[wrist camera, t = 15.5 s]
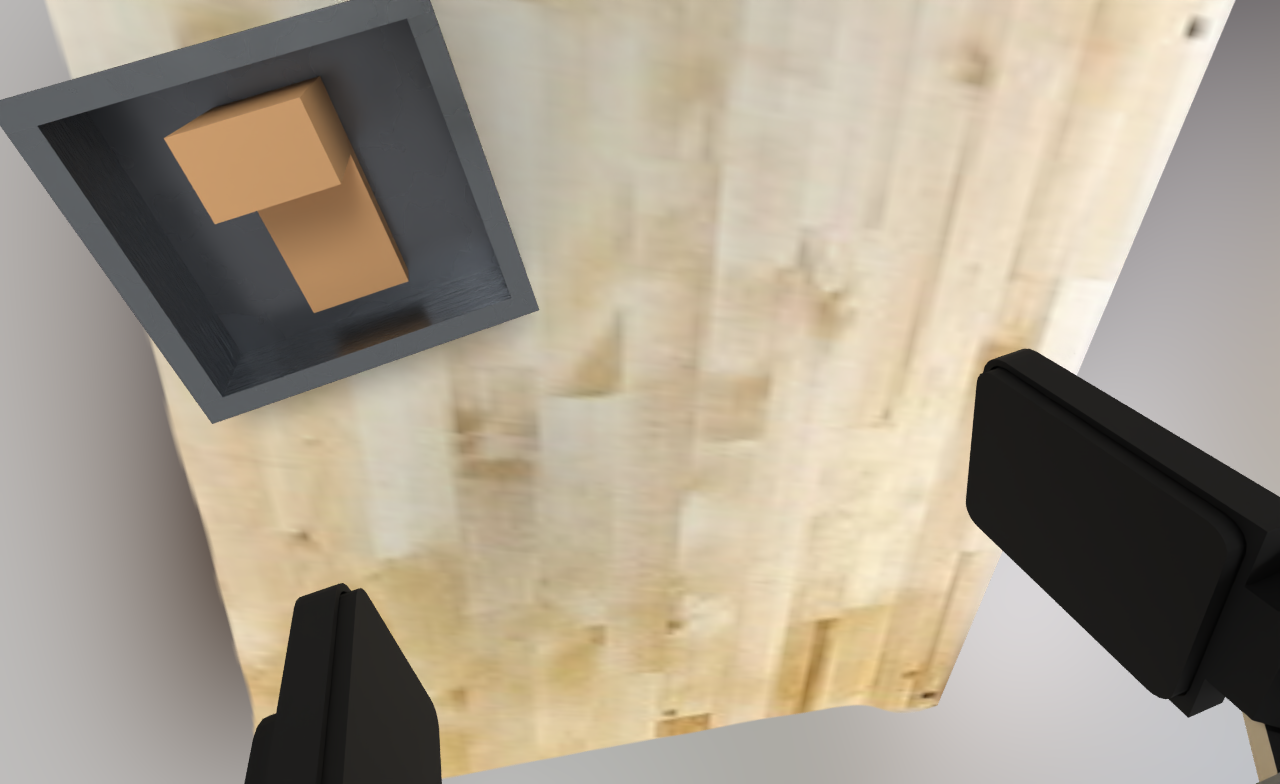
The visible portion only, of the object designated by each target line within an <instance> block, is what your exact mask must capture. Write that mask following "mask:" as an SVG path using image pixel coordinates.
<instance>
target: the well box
mask: <svg viewBox="0 0 1280 784" xmlns="http://www.w3.org/2000/svg"><path fill="white" fill-rule="evenodd" d="M318 76H320V77H321V80H322V82H323V84H324V86H325V88H326V91H327V93H328V95H329V97H330V99H331V101H332V104H333V106H334V108H335V110H336V112H337V115H338V117H339V119H340V121H341V123H342V126H343V128H344V130H345V132H346V134H347V137H348V139H349V141H350V143H351V145H352V148H353V150H354V152H355V154H356V156H357V159H358V161H359V163H360V165H361V167H362V170H363V172H364V174H365V176H366V178H367V181H368V183H369V185H370V187H371V189H372V192H373V194H374V196H375V198H376V200H377V203H378V205H379V207H380V209H381V211H382V214H383V216H384V218H385V220H386V222H387V225H388V227H389V229H390V231H391V233H392V236H393V238H394V240H395V242H396V244H397V247H398V249H399V251H400V253H401V255H402V258H403V260H404V262H405V264H406V266H407V269H408V274H409V281H408V282H405V283H402V284H399V285H396V286H393V287H390V288H387V289H384V290H381V291H378V292H375V293H372V294H370V295H367V296H364V297H361V298H358V299H355V300H352V301H349V302H346V303H343V304H340V305H337V306H334V307H331V308H328V309H325V310H322V311H319V312H316V313H314V312H313V311H312V309H311V307H310V305H309V303H308V302H307V300H306V298H305V296H304V294H303V293H302V291H301V289H300V287H299V285H298V284H297V282H296V280H295V278H294V276H293V275H292V273H291V271H290V269H289V267H288V265H287V264H286V262H285V260H284V258H283V256H282V255H281V253H280V251H279V249H278V247H277V246H276V244H275V242H274V240H273V238H272V237H271V235H270V233H269V231H268V229H267V228H266V226H265V224H264V222H263V220H262V219H261V217H260V215H259V213H258V211H255V212H252V213H249V214H246V215H243V216H240V217H236V218H233V219H230V220H227V221H224V222H221V223H218V224H214V222H213V220H212V219H211V217H210V215H209V214H208V212H207V210H206V208H205V207H204V205H203V203H202V202H201V200H200V198H199V197H198V195H197V193H196V192H195V190H194V188H193V187H192V185H191V183H190V182H189V180H188V178H187V177H186V175H185V173H184V172H183V170H182V168H181V167H180V165H179V163H178V161H177V160H176V158H175V156H174V155H173V153H172V151H171V150H170V148H169V146H168V145H167V143H166V141H165V140H164V138H165V137H167V136H168V135H170V134H171V133H173V132H175V131H176V130H178V129H179V128H181V127H183V126H184V125H186V124H187V123H189V122H191V121H192V120H194V119H196V118H197V117H199V116H200V115H202V114H204V113H205V112H207V111H208V110H210V109H212V108H215V107H218V106H221V105H225V104H228V103H231V102H235V101H238V100H241V99H245V98H248V97H251V96H255V95H258V94H261V93H265V92H268V91H272V90H275V89H278V88H282V87H285V86H288V85H292V84H295V83H298V82H302V81H305V80H308V79H312V78H315V77H318ZM0 126H1V127H2V129H3V130H4V132H5V133H6V134H7V136H8V137H9V139H10V140H11V141H12V143H13V144H14V146H15V147H16V148H17V150H18V151H19V153H20V154H21V156H22V157H23V158H24V160H25V161H26V162H27V164H28V165H29V167H30V168H31V170H32V171H33V172H34V174H35V175H36V177H37V178H38V179H39V181H40V182H41V184H42V185H43V186H44V188H45V189H46V191H47V192H48V194H49V195H50V196H51V198H52V199H53V201H54V202H55V203H56V205H57V206H58V208H59V209H60V210H61V212H62V213H63V215H64V216H65V217H66V219H67V220H68V222H69V223H70V224H71V226H72V227H73V229H74V230H75V232H76V233H77V234H78V236H79V237H80V238H81V240H82V241H83V243H84V244H85V246H86V247H87V248H88V250H89V251H90V253H91V254H92V255H93V257H94V258H95V260H96V261H97V263H98V264H99V265H100V267H101V268H102V270H103V271H104V272H105V274H106V275H107V277H108V278H109V279H110V281H111V282H112V284H113V285H114V286H115V288H116V289H117V291H118V292H119V293H120V295H121V296H122V298H123V299H124V300H125V302H126V303H127V305H128V306H129V307H130V309H131V310H132V312H133V313H134V315H135V316H136V317H137V319H138V320H139V322H140V323H141V324H142V326H143V327H144V329H145V330H146V331H147V333H148V334H149V336H150V337H151V338H152V340H153V341H154V343H155V344H156V346H157V347H158V348H159V350H160V351H161V353H162V354H163V355H164V357H165V358H166V360H167V361H168V362H169V364H170V365H171V367H172V368H173V369H174V371H175V372H176V374H177V375H178V376H179V378H180V379H181V381H182V382H183V384H184V385H185V386H186V388H187V389H188V391H189V392H190V393H191V395H192V396H193V398H194V399H195V400H196V402H197V403H198V405H199V406H200V407H201V409H202V410H203V412H204V413H205V414H206V416H207V417H208V419H209V420H210V421H211V423H212V424H214V423H216V422H219V421H222V420H225V419H228V418H231V417H234V416H237V415H239V414H242V413H245V412H248V411H251V410H254V409H257V408H260V407H262V406H265V405H268V404H271V403H274V402H277V401H280V400H282V399H285V398H288V397H291V396H294V395H297V394H300V393H303V392H305V391H308V390H311V389H314V388H317V387H320V386H323V385H326V384H328V383H331V382H334V381H337V380H340V379H343V378H346V377H348V376H351V375H354V374H357V373H360V372H363V371H366V370H369V369H371V368H374V367H377V366H380V365H383V364H386V363H389V362H392V361H394V360H397V359H400V358H403V357H406V356H409V355H412V354H414V353H417V352H420V351H423V350H426V349H429V348H432V347H435V346H437V345H440V344H443V343H446V342H449V341H452V340H455V339H458V338H460V337H463V336H466V335H469V334H472V333H475V332H478V331H480V330H483V329H486V328H489V327H492V326H495V325H498V324H501V323H503V322H506V321H509V320H512V319H515V318H518V317H521V316H524V315H526V314H529V313H532V312H535V311H538V310H539V308H538V305H537V302H536V299H535V296H534V294H533V291H532V288H531V285H530V282H529V279H528V277H527V274H526V271H525V268H524V265H523V262H522V260H521V257H520V254H519V251H518V248H517V245H516V243H515V240H514V237H513V234H512V231H511V228H510V226H509V223H508V220H507V217H506V214H505V211H504V209H503V206H502V203H501V200H500V197H499V194H498V192H497V189H496V186H495V183H494V180H493V177H492V175H491V172H490V169H489V166H488V163H487V160H486V158H485V155H484V152H483V149H482V146H481V143H480V141H479V138H478V135H477V132H476V129H475V126H474V124H473V121H472V118H471V115H470V112H469V109H468V107H467V104H466V101H465V98H464V95H463V92H462V90H461V87H460V84H459V81H458V78H457V75H456V73H455V70H454V67H453V64H452V61H451V58H450V56H449V53H448V50H447V47H446V44H445V41H444V39H443V36H442V33H441V30H440V27H439V24H438V22H437V19H436V16H435V13H434V10H433V7H432V5H431V2H430V0H350V1H347V2H343V3H340V4H336V5H333V6H329V7H326V8H322V9H319V10H315V11H312V12H308V13H305V14H301V15H298V16H294V17H291V18H287V19H283V20H280V21H276V22H273V23H269V24H266V25H262V26H259V27H255V28H252V29H248V30H245V31H241V32H238V33H234V34H231V35H227V36H224V37H220V38H217V39H213V40H210V41H206V42H203V43H199V44H196V45H192V46H189V47H185V48H182V49H178V50H174V51H171V52H167V53H164V54H160V55H157V56H153V57H150V58H146V59H143V60H139V61H136V62H132V63H129V64H125V65H122V66H118V67H115V68H111V69H108V70H104V71H101V72H97V73H94V74H90V75H87V76H83V77H80V78H76V79H73V80H69V81H66V82H62V83H59V84H55V85H52V86H48V87H44V88H41V89H37V90H34V91H31V92H27V93H24V94H20V95H16V96H13V97H9V98H6V99H3V100H0Z"/></svg>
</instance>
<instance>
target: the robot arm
mask: <svg viewBox="0 0 1280 784" xmlns="http://www.w3.org/2000/svg"><path fill="white" fill-rule="evenodd" d="M966 507H967V511H968V513H969V515H970V517H971V519H972V520H973V522H974V523H975V524H976V525H977V526H978V527H979V528H980V529H981V530H982V531H983V532H984V533H985V534H986V535H987V536H988V537H989V538H990V539H991V540H992V541H993V542H994V543H995V544H996V545H997V546H998V547H1000V548H1001V549H1002V550H1003V551H1004V552H1005V553H1006V554H1007V555H1008V556H1009V557H1010V558H1011V559H1012V560H1013V561H1014V562H1015V563H1016V564H1017V565H1018V566H1019V567H1020V568H1021V569H1022V570H1024V572H1026V573H1027V574H1028V575H1029V576H1030V577H1031V578H1032V579H1033V580H1034V581H1035V582H1036V583H1037V584H1038V585H1039V586H1040V587H1041V588H1042V589H1043V590H1044V591H1045V592H1046V593H1047V594H1049V596H1051V597H1052V598H1053V599H1054V600H1055V601H1056V602H1057V603H1058V604H1059V605H1060V606H1061V607H1062V608H1063V609H1064V610H1065V611H1066V612H1067V613H1068V614H1069V615H1070V616H1071V617H1072V618H1073V619H1074V620H1076V621H1077V622H1078V623H1079V624H1080V625H1081V626H1082V627H1083V628H1084V629H1085V630H1086V631H1087V632H1088V633H1089V634H1090V635H1091V636H1092V637H1093V638H1094V639H1095V640H1096V641H1097V642H1098V643H1099V644H1100V645H1102V646H1103V647H1104V648H1105V649H1106V650H1107V651H1108V652H1109V653H1110V654H1111V655H1112V656H1113V657H1114V658H1115V659H1116V660H1117V661H1118V662H1119V663H1120V664H1121V665H1122V666H1123V667H1124V668H1126V670H1128V671H1129V672H1130V673H1131V674H1132V675H1133V676H1134V677H1135V678H1136V679H1137V680H1138V681H1139V682H1140V683H1141V684H1142V685H1143V686H1144V687H1145V688H1146V689H1147V690H1149V691H1150V692H1151V693H1152V694H1154V695H1156V696H1158V697H1159V698H1163V699H1169V700H1170V701H1171V702H1172V703H1173V704H1174V705H1175V706H1176V707H1178V708H1179V709H1180V710H1181V711H1182V712H1183V713H1184V714H1185V715H1186V716H1187V717H1191V716H1193V715H1196V714H1198V713H1200V712H1202V711H1204V710H1207V709H1209V708H1211V707H1213V706H1216V705H1218V704H1220V703H1222V702H1223V700H1224V698H1225V697H1226V698H1227V699H1229V700H1230V701H1231V702H1232V703H1233V704H1234V705H1235V706H1236V707H1238V708H1239V709H1240V710H1241V711H1242V712H1243V717H1244V721H1245V725H1246V729H1247V733H1248V737H1249V741H1250V745H1251V750H1252V753H1253V758H1254V762H1255V766H1256V770H1257V774H1258V778H1259V783H1256V784H1280V497H1279V496H1277V495H1276V494H1274V493H1272V492H1270V491H1269V490H1267V489H1265V488H1264V487H1262V486H1260V485H1259V484H1257V483H1255V482H1254V481H1252V480H1250V479H1249V478H1247V477H1245V476H1244V475H1242V474H1240V473H1239V472H1237V471H1235V470H1234V469H1232V468H1230V467H1229V466H1227V465H1225V464H1223V463H1222V462H1220V461H1219V460H1217V459H1215V458H1213V457H1212V456H1210V455H1209V454H1207V453H1205V452H1204V451H1202V450H1200V449H1199V448H1197V447H1195V446H1193V445H1192V444H1190V443H1188V442H1187V441H1185V440H1183V439H1182V438H1180V437H1178V436H1177V435H1175V434H1173V433H1172V432H1170V431H1168V430H1167V429H1165V428H1163V427H1161V426H1160V425H1158V424H1157V423H1155V422H1153V421H1152V420H1150V419H1148V418H1147V417H1145V416H1143V415H1142V414H1140V413H1138V412H1137V411H1135V410H1133V409H1132V408H1130V407H1128V406H1127V405H1125V404H1123V403H1121V402H1120V401H1118V400H1116V399H1115V398H1113V397H1111V396H1110V395H1108V394H1106V393H1105V392H1103V391H1101V390H1100V389H1098V388H1096V387H1095V386H1093V385H1091V384H1090V383H1088V382H1086V381H1085V380H1083V379H1081V378H1080V377H1078V376H1076V375H1075V374H1073V373H1071V372H1070V371H1068V370H1066V369H1065V368H1063V367H1061V366H1060V365H1058V364H1056V363H1055V362H1053V361H1051V360H1049V359H1048V358H1046V357H1044V356H1043V355H1041V354H1039V353H1038V352H1036V351H1034V350H1031V349H1021V350H1018V351H1016V352H1013V353H1010V354H1007V355H1004V356H1001V357H998V358H995V359H992V360H990V361H988V363H987V364H986V365H985V367H984V371H983V373H982V374H980V376H979V377H978V380H977V386H976V397H975V408H974V419H973V429H972V440H971V451H970V462H969V473H968V483H967V494H966ZM245 784H442V779H441V759H440V739H439V724H438V719H437V714H436V711H435V708H434V705H433V703H432V701H431V699H430V697H429V696H428V694H427V692H426V691H425V689H424V687H423V686H422V684H421V682H420V681H419V679H418V678H417V676H416V674H415V673H414V671H413V669H412V668H411V666H410V664H409V663H408V661H407V659H406V658H405V656H404V654H403V653H402V651H401V649H400V648H399V646H398V644H397V643H396V641H395V639H394V638H393V636H392V634H391V633H390V631H389V630H388V628H387V626H386V625H385V623H384V621H383V620H382V618H381V616H380V615H379V613H378V611H377V610H376V608H375V606H374V605H373V603H372V601H371V600H370V598H369V596H368V595H367V593H366V592H365V591H364V590H363V589H362V588H359V589H356V590H353V591H351V590H350V589H349V588H348V586H347V585H345V584H344V583H341V584H337V585H334V586H331V587H328V588H326V589H323V590H320V591H317V592H314V593H311V594H308V595H305V596H302V597H299V598H298V600H297V601H296V603H295V606H294V611H293V617H292V623H291V629H290V635H289V641H288V647H287V653H286V659H285V665H284V671H283V677H282V683H281V688H280V694H279V700H278V706H277V712H276V714H273V715H270V716H268V717H266V718H264V719H262V721H261V722H260V724H259V725H258V727H257V729H256V732H255V735H254V738H253V742H252V748H251V753H250V758H249V763H248V768H247V773H246V779H245Z"/></svg>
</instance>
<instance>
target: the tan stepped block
mask: <svg viewBox="0 0 1280 784" xmlns="http://www.w3.org/2000/svg"><path fill="white" fill-rule="evenodd" d="M164 140H165V141H166V143H167V145H168V146H169V148H170V150H171V151H172V153H173V155H174V156H175V158H176V160H177V161H178V163H179V165H180V167H181V168H182V170H183V172H184V173H185V175H186V177H187V178H188V180H189V182H190V183H191V185H192V187H193V188H194V190H195V192H196V193H197V195H198V197H199V198H200V200H201V202H202V203H203V205H204V207H205V208H206V210H207V212H208V214H209V215H210V217H211V219H212V220H213V222H214V224H218V223H221V222H224V221H227V220H230V219H233V218H236V217H240V216H243V215H246V214H249V213H252V212H255V211H258V213H259V215H260V217H261V219H262V220H263V222H264V224H265V226H266V228H267V229H268V231H269V233H270V235H271V237H272V238H273V240H274V242H275V244H276V246H277V247H278V249H279V251H280V253H281V255H282V256H283V258H284V260H285V262H286V264H287V265H288V267H289V269H290V271H291V273H292V275H293V276H294V278H295V280H296V282H297V284H298V285H299V287H300V289H301V291H302V293H303V294H304V296H305V298H306V300H307V302H308V303H309V305H310V307H311V309H312V311H313V312H314V313H316V312H319V311H322V310H325V309H328V308H331V307H334V306H337V305H340V304H343V303H346V302H349V301H352V300H355V299H358V298H361V297H364V296H367V295H370V294H372V293H375V292H378V291H381V290H384V289H387V288H390V287H393V286H396V285H399V284H402V283H405V282H408V281H409V274H408V269H407V266H406V264H405V262H404V260H403V258H402V255H401V253H400V251H399V249H398V247H397V244H396V242H395V240H394V238H393V236H392V233H391V231H390V229H389V227H388V225H387V222H386V220H385V218H384V216H383V214H382V211H381V209H380V207H379V205H378V203H377V200H376V198H375V196H374V194H373V192H372V189H371V187H370V185H369V183H368V181H367V178H366V176H365V174H364V172H363V170H362V167H361V165H360V163H359V161H358V159H357V156H356V154H355V152H354V150H353V148H352V145H351V143H350V141H349V139H348V137H347V134H346V132H345V130H344V128H343V126H342V123H341V121H340V119H339V117H338V115H337V112H336V110H335V108H334V106H333V104H332V101H331V99H330V97H329V95H328V93H327V91H326V88H325V86H324V84H323V82H322V80H321V77H320V76H318V77H315V78H312V79H308V80H305V81H302V82H298V83H295V84H292V85H288V86H285V87H282V88H278V89H275V90H272V91H268V92H265V93H261V94H258V95H255V96H251V97H248V98H245V99H241V100H238V101H235V102H231V103H228V104H225V105H221V106H218V107H215V108H212V109H210V110H208V111H207V112H205V113H204V114H202V115H200V116H199V117H197V118H196V119H194V120H192V121H191V122H189V123H187V124H186V125H184V126H183V127H181V128H179V129H178V130H176V131H175V132H173V133H171V134H170V135H168V136H167V137H165V138H164Z"/></svg>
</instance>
